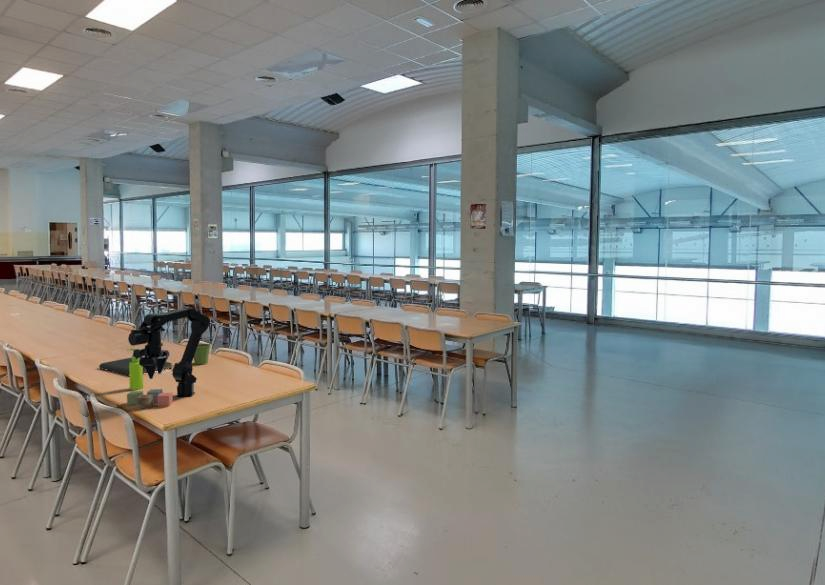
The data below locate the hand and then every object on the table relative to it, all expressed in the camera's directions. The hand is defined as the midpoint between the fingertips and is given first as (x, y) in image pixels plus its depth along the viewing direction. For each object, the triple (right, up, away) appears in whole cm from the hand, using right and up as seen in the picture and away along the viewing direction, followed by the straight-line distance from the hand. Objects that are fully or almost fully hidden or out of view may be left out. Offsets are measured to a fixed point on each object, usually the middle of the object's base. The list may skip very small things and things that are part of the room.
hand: (155, 376), depth 242 cm
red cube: (+5, -13, -1) cm, 14 cm away
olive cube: (-9, -12, +1) cm, 16 cm away
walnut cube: (-2, -13, -5) cm, 14 cm away
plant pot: (-11, -5, +81) cm, 82 cm away
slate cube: (-2, -12, +4) cm, 13 cm away
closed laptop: (-43, -7, +67) cm, 79 cm away
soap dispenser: (-22, -10, +25) cm, 35 cm away
